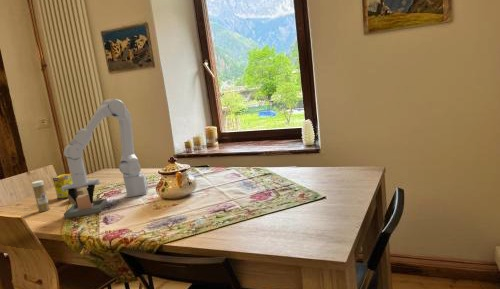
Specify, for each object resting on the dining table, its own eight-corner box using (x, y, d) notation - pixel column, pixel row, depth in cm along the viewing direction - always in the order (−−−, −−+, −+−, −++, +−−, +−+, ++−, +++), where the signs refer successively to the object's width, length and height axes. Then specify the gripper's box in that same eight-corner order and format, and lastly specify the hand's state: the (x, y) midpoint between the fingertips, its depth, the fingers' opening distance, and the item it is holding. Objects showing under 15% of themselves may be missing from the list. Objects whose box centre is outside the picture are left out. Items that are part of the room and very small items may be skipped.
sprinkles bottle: (44, 212, 169) (36, 182, 167) (36, 212, 171) (28, 183, 168) (52, 208, 174) (45, 179, 171) (44, 208, 175) (37, 180, 173)
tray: (107, 203, 169) (106, 198, 169) (100, 212, 157) (99, 207, 157) (74, 208, 168) (73, 204, 167) (64, 218, 156) (63, 213, 156)
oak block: (89, 196, 186) (87, 186, 185) (85, 200, 179) (82, 190, 178) (74, 198, 185) (72, 188, 184) (69, 203, 178) (67, 193, 177)
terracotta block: (93, 204, 165) (90, 193, 164) (91, 207, 161) (88, 196, 160) (81, 206, 164) (78, 195, 164) (78, 210, 160) (76, 198, 159)
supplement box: (68, 198, 186) (62, 177, 184) (57, 199, 187) (52, 178, 185) (75, 194, 191) (70, 173, 189) (65, 195, 193) (60, 174, 191)
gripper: (97, 167, 165) (104, 197, 167) (61, 174, 162) (69, 204, 164) (95, 171, 158) (102, 202, 160) (57, 178, 155) (65, 209, 158)
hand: (85, 204), depth 162 cm, fingers closed on terracotta block, 5 cm apart
